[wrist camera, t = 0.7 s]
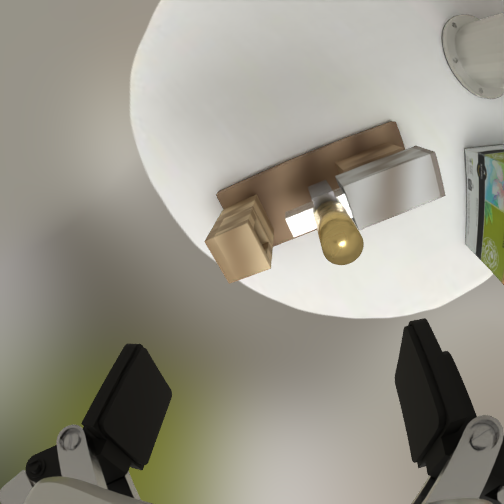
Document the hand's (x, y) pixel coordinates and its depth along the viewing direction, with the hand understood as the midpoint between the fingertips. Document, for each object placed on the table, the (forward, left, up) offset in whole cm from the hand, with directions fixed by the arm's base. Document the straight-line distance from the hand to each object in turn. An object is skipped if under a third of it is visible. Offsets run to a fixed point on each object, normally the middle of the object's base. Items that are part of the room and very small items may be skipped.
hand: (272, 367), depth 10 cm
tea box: (-29, +13, -29) cm, 43 cm away
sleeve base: (-4, +3, -28) cm, 29 cm away
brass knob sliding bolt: (-7, +3, -22) cm, 23 cm away
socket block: (+5, +3, -27) cm, 28 cm away
